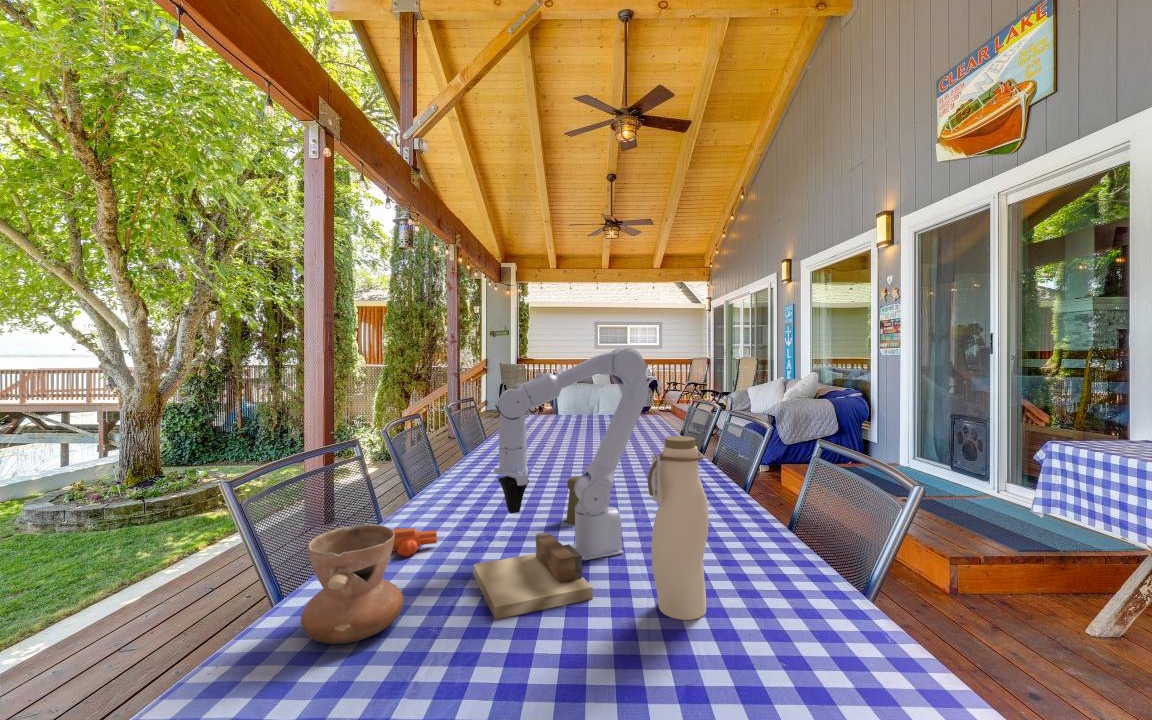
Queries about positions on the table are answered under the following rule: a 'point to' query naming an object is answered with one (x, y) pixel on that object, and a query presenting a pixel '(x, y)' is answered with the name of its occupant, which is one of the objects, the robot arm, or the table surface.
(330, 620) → the ceramic jug
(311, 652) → the table surface
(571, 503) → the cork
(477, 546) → the table surface
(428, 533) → the orange blocky toy
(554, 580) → the board
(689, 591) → the water bottle
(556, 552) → the folding leg
